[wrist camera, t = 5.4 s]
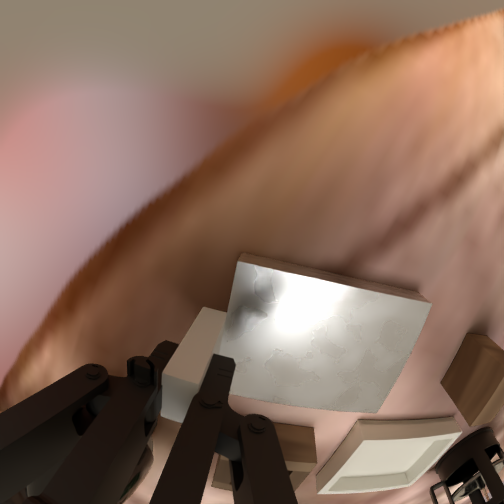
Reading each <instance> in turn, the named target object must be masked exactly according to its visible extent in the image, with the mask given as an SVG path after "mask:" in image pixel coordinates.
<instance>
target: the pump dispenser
mask: <svg viewBox="0 0 504 504" xmlns="http://www.w3.org/2000/svg"><path fill="white" fill-rule="evenodd" d="M152 452H153V441H152V435H151V437H150V439H149V441H148V443H147V445H146V447H145V449H144V451H143V453H142V455H141V457H140V459H139V461H138V463H137V465H136V467H135V469H134V471H133V473H132V475H131V477H130V479H129V481H128V483H127V485H126V487H125V489H124V491H123V493H122V495H121V497H120V499H119V501H118V503H117V504H123V503H124V502H125V501H126V500H127V499H128V498H129V497H130V496H131V495H132V494H133V493H134V492H135V490H136V489H137V488H138V487H139V485H140V484H141V483H142V481H143V480H144V478H145V477H146V475H147V474H148V472H149V470H150V469H151V466H152V464H153V460H154V458H153V453H152ZM66 458H67V456H66V457H65V458H64V459H62V460H61V461H60V462H58V463H57V464H56V465H55V466H53V467H52V468H51V469H49V470H48V471H47V472H45V473H44V474H43V475H41V476H40V477H39V478H37V479H36V480H34V481H33V482H32V483H30V484H29V485H28V486H26V487H25V491H26V496H27V498H28V497H30V496H38V495H40V494H41V493H42V492H43V490H44V489H45V487H46V486H47V485H48V483H49V482H50V480H51V479H52V477H53V476H54V475H55V473H56V472H57V470H58V469H59V468H60V466H61V465H62V463H63V462H64V461H65V459H66Z"/></svg>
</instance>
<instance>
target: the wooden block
mask: <svg viewBox="0 0 504 504" xmlns="http://www.w3.org/2000/svg"><path fill="white" fill-rule="evenodd" d="M441 385H442V386H443V387H444V389H445V390H446V392H447V393H448V395H449V396H450V398H451V399H452V400H453V402H454V403H455V405H456V406H457V408H458V409H459V411H460V412H461V414H462V415H463V417H464V418H465V420H466V422H467V423H468V425H469V426H470V427H471V426H476V425H481V424H486V423H490V422H491V421H492V420H493V418H494V417H495V416H496V414H497V413H498V412H499V410H500V409H501V407H502V406H503V404H504V350H503V349H501V348H500V347H499V346H498V345H497V344H496V343H495V342H493V341H492V340H491V339H490V338H489V337H488V336H485V335H477V334H470V333H467V334H466V337H465V339H464V341H463V343H462V345H461V347H460V349H459V351H458V353H457V355H456V357H455V358H454V360H453V362H452V364H451V366H450V368H449V369H448V371H447V373H446V375H445V376H444V378H443V380H442V381H441Z"/></svg>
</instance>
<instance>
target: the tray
mask: <svg viewBox="0 0 504 504" xmlns="http://www.w3.org/2000/svg"><path fill="white" fill-rule="evenodd" d="M461 433H462V430H461V428H460V427H459V425H458V424H457V422H456V420H455V419H454V417H446V418H435V419H420V420H357V422H356V423H355V425H354V426H353V428H352V429H351V431H350V432H349V434H348V435H347V436H346V438H345V439H344V441H343V442H342V443H341V445H340V446H339V448H338V449H337V450H336V452H335V453H334V454H333V455H332V457H331V458H330V459H329V461H328V462H327V463H326V464H325V466H324V467H323V468H322V469H321V471H320V472H319V473H318V474H317V475H316V487H317V494H347V493H363V492H374V491H383V490H390V489H397V488H403V487H409V486H411V485H412V484H413V483H414V482H415V481H417V480H418V479H419V478H420V477H421V476H422V475H423V474H424V473H425V472H426V471H427V470H428V469H429V468H430V467H431V466H432V465H433V464H434V463H435V462H436V461H437V460H438V459H439V458H440V457H441V456H442V455H443V454H444V453H445V451H446V450H447V449H448V448H449V447H450V446H451V445H452V444H453V442H454V441H455V440H456V439H457V438H458V436H459V435H460V434H461Z"/></svg>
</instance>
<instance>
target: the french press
mask: <svg viewBox="0 0 504 504" xmlns="http://www.w3.org/2000/svg"><path fill="white" fill-rule="evenodd" d="M496 453H497V454H498V456H499V458H500V459H498V460H496V461H494V462H493V463H492V462H491V461H490V460H491V459H492V458H493V457H494V456H495V454H496ZM503 467H504V452H503V450H502V449H501V447H500V444H499V442H498V441H497V439H496V438H495V436H494V435H493V430H492V429H491V428H490V427H485V428H482V429H479V430H477V431H475V432H474V433H472V434H470V435H469V436H467V437H466V438H464V439H463V440H461V441H460V442H459V443H457V444H456V445H455V446H454V447H452V448H451V449H450V450H449V451H448V452H447V453H446V454H445V455H444V456H443V457H442V458H441V459H440V460H439V462H438V463H437V465H436V467H435V472H436V473H437V474H438V475H439V477H440V479H441V482H439V483H437V484H435V485H433V486H431V487H430V495H431V498H432V501H433V504H438V501H437V499H436V496H435V493H434V490H436V489H438V488H440V487H441V486H443V487H444V489H445V492H446V494H447V497H448V500H449V502H450V504H455V503H454V501H458V500H461V499H463V498H465V497H467V496H469V497H470V500H471V502H472V504H504V485H503V483H502V481H501V479H500V477H499V475H498V473H499V472H500V471H501V470H502V468H503ZM478 471H479V472H478ZM477 472H478V473H477ZM475 473H476V474H475ZM474 474H475V475H474ZM473 475H474V476H473ZM461 482H463V484H462V485H461V486H460V487H459V488H458V489H457V490H456V491H455V492H454V493H453V494H452V495H451V493H450V491H449V488H448V487H451V486H454V485H457V484H459V483H461ZM485 484H486V485H487V487H488V489H489V491H490V493H491V496H492V498H491V499H489V496H488V495H487V492H486V490H485ZM480 490H483V493H484V495H485V497H486V499H487V502H485V500H484V498H483V496H482V493H481V491H480Z"/></svg>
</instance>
